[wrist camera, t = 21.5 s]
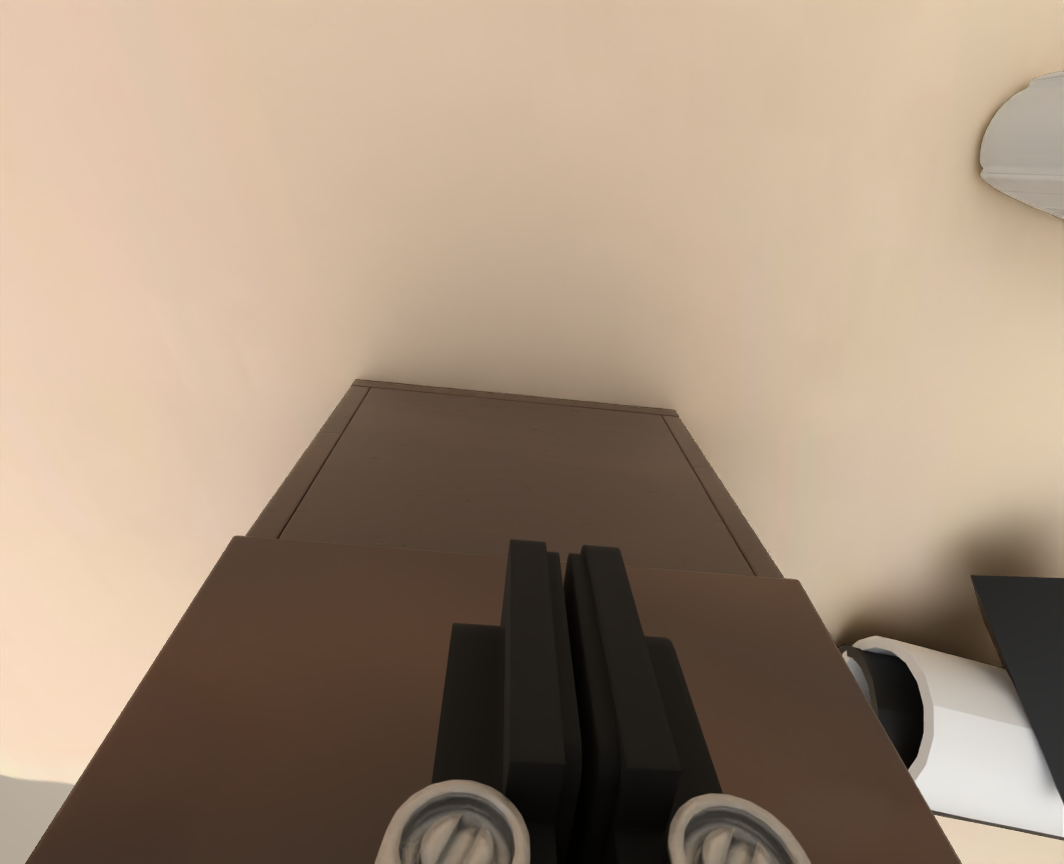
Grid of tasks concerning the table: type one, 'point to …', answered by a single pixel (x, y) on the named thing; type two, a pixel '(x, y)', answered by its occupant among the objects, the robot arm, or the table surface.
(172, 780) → the lid
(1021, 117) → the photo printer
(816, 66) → the table surface
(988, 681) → the curved black white bar
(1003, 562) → the table surface
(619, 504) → the chest
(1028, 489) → the table surface
